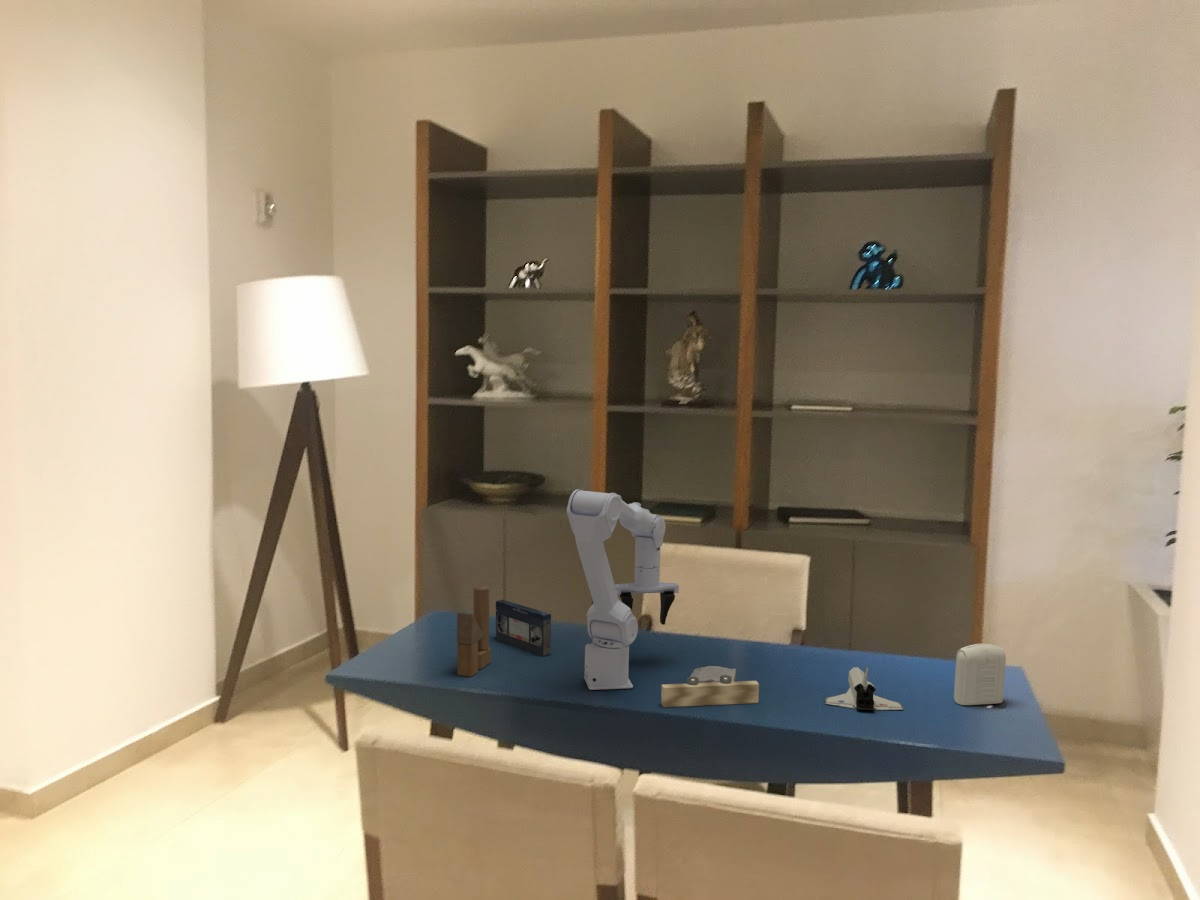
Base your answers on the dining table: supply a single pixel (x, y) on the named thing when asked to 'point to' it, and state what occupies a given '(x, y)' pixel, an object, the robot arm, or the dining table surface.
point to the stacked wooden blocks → (474, 635)
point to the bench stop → (709, 692)
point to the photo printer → (979, 675)
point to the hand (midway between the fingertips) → (646, 624)
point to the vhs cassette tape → (523, 627)
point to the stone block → (713, 674)
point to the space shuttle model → (862, 694)
